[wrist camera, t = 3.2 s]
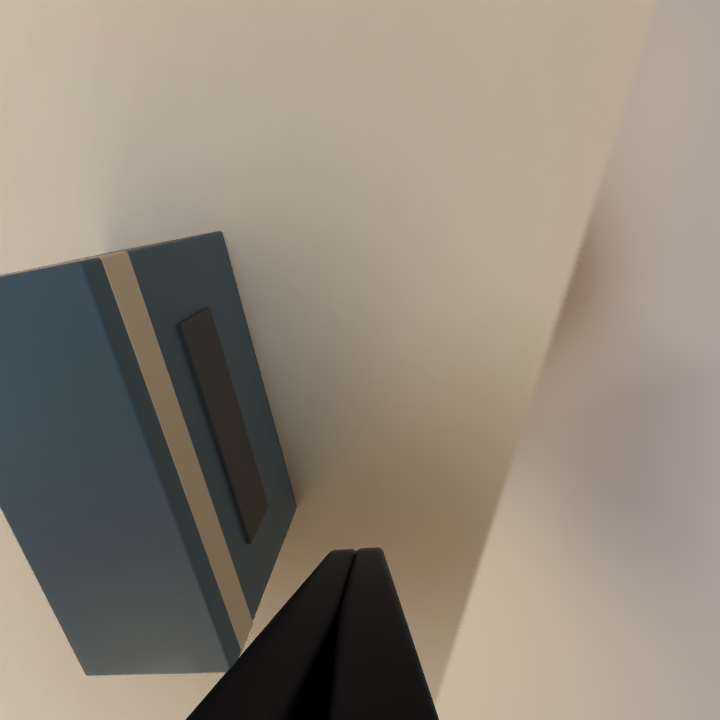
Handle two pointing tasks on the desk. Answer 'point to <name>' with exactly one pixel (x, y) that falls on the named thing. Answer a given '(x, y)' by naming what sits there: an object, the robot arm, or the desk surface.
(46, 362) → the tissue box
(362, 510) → the desk surface
